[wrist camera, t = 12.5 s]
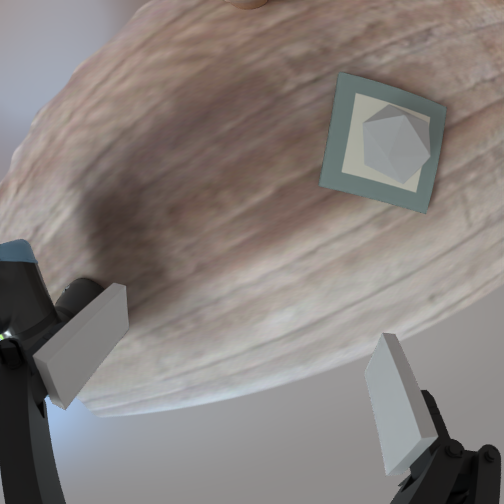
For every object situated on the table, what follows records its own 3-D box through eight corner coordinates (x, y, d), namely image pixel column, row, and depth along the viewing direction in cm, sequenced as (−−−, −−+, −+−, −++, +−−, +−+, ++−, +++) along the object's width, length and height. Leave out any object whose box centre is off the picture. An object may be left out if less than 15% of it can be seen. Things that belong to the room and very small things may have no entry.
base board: (318, 184, 39) (319, 186, 37) (337, 75, 33) (339, 71, 31) (420, 211, 38) (426, 214, 36) (440, 108, 32) (447, 107, 30)
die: (426, 157, 34) (447, 109, 24) (406, 206, 32) (430, 161, 23) (373, 131, 37) (381, 79, 27) (348, 175, 35) (353, 124, 26)
